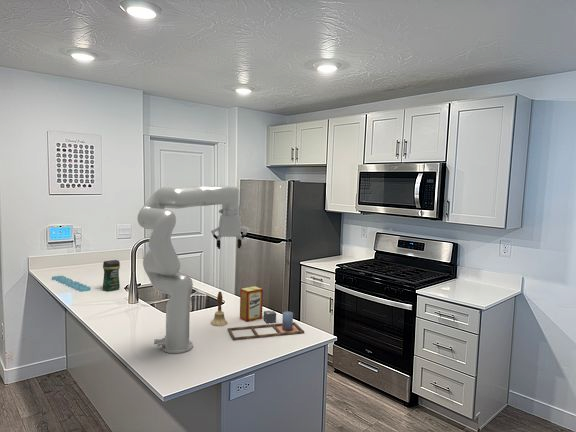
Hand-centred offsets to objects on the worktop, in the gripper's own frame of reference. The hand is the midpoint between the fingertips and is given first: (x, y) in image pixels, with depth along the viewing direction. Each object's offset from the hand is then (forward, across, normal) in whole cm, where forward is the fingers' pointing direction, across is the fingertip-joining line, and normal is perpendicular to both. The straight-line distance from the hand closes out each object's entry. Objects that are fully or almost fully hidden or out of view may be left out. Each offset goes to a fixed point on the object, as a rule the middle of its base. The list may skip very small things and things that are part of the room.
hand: (229, 248), depth 193 cm
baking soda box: (+38, +14, +8) cm, 42 cm away
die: (+38, +22, +1) cm, 44 cm away
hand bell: (+39, -3, +5) cm, 39 cm away
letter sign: (+39, -82, +100) cm, 136 cm away
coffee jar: (+38, -57, +82) cm, 107 cm away
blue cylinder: (+38, +27, -12) cm, 48 cm away
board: (+38, +16, -12) cm, 43 cm away
